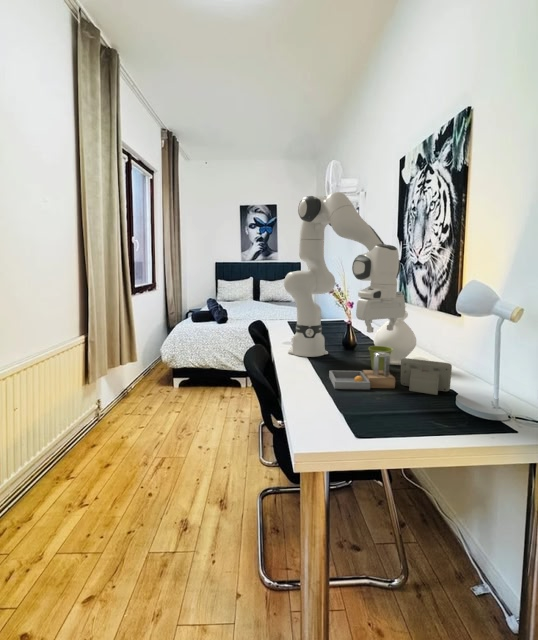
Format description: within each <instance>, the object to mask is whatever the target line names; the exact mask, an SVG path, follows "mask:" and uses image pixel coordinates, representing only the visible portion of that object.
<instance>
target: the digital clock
mask: <svg viewBox="0 0 538 640" xmlns="http://www.w3.org/2000/svg"><path fill="white" fill-rule="evenodd" d="M452 367H453V366H452V363H448V362H443V361H435V360H427V359H418V358H417V359H416V358H407V357H406V358H403V359H401V365H400V384H401V385H402V386H406V387H409V388H408V390H409V391H410V392H416V393H422V394H427V395H435V396H438V395H439V394H438V393H439V392H449V391H450V389H451V384H452V383H451V380H452V371H453V368H452Z"/></svg>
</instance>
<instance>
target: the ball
mask: <svg viewBox="0 0 538 640" xmlns="http://www.w3.org/2000/svg"><path fill="white" fill-rule="evenodd" d="M354 381H355V382H363V378H362V377H361V376H356V377H355V379H354Z"/></svg>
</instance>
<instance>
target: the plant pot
mask: <svg viewBox="0 0 538 640" xmlns="http://www.w3.org/2000/svg"><path fill="white" fill-rule="evenodd" d="M367 349H368V351H369V354H370V367H371V368H370V369H371V370H373V365H374V353H375V352H386V353H389V354H391V351H392V350H393V349H392V348H389V347H384V346H375V345H372V346H369V347H368V348H367ZM383 367H384V357H379V370H383Z"/></svg>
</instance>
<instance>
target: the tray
mask: <svg viewBox="0 0 538 640" xmlns="http://www.w3.org/2000/svg"><path fill="white" fill-rule="evenodd" d="M328 375H329V376H328V378H329V380H330V382H331V385H332V386H333V389H334V390H364V391H365V390H371V388H370V381H369V380H368V379H367V378H366V376H365V375H364V374H363V370H329V373H328ZM356 376H361V377H362V378H363V382H355V381H354V379H355V377H356Z"/></svg>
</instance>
